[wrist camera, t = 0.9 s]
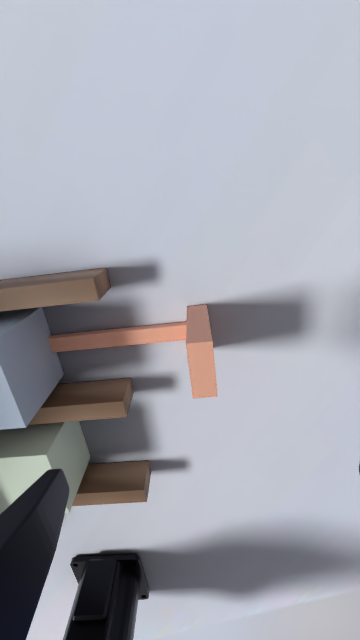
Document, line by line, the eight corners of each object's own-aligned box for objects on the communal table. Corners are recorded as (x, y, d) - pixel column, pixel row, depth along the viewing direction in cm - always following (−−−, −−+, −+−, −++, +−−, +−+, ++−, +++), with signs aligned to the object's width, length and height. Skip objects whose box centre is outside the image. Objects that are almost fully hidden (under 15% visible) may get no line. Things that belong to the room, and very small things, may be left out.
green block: (90, 455, 23) (69, 512, 19) (30, 460, 23) (-5, 517, 19) (74, 404, 21) (46, 454, 17) (8, 409, 21) (-35, 460, 17)
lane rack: (151, 471, 23) (139, 557, 18) (16, 480, 24) (-36, 564, 18) (106, 267, 17) (66, 300, 11) (-73, 288, 18) (-191, 328, 12)
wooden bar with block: (212, 361, 19) (218, 412, 15) (-6, 380, 20) (-63, 434, 16) (205, 288, 17) (210, 320, 13) (-34, 314, 18) (-109, 352, 14)
